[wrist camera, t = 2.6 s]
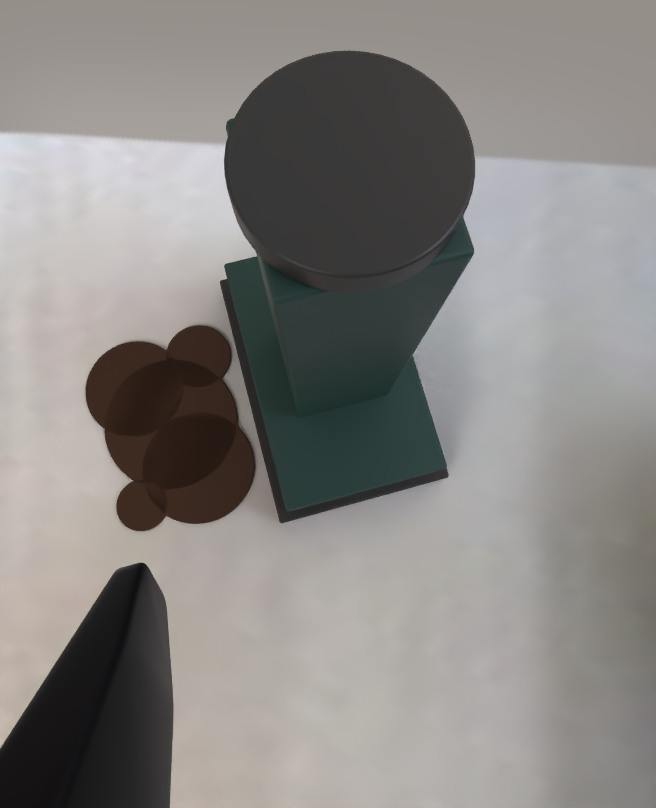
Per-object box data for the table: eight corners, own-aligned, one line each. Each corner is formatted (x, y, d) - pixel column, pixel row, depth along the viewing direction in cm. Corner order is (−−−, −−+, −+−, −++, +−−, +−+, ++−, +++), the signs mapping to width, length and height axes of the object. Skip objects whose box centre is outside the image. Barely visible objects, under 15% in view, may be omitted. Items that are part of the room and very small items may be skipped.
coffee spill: (268, 506, 20) (268, 506, 20) (116, 547, 19) (115, 548, 19) (222, 319, 21) (222, 318, 21) (78, 355, 21) (77, 354, 21)
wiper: (443, 478, 20) (681, 420, 7) (281, 523, 20) (206, 552, 6) (374, 253, 22) (461, -146, 8) (223, 290, 21) (68, -66, 8)
